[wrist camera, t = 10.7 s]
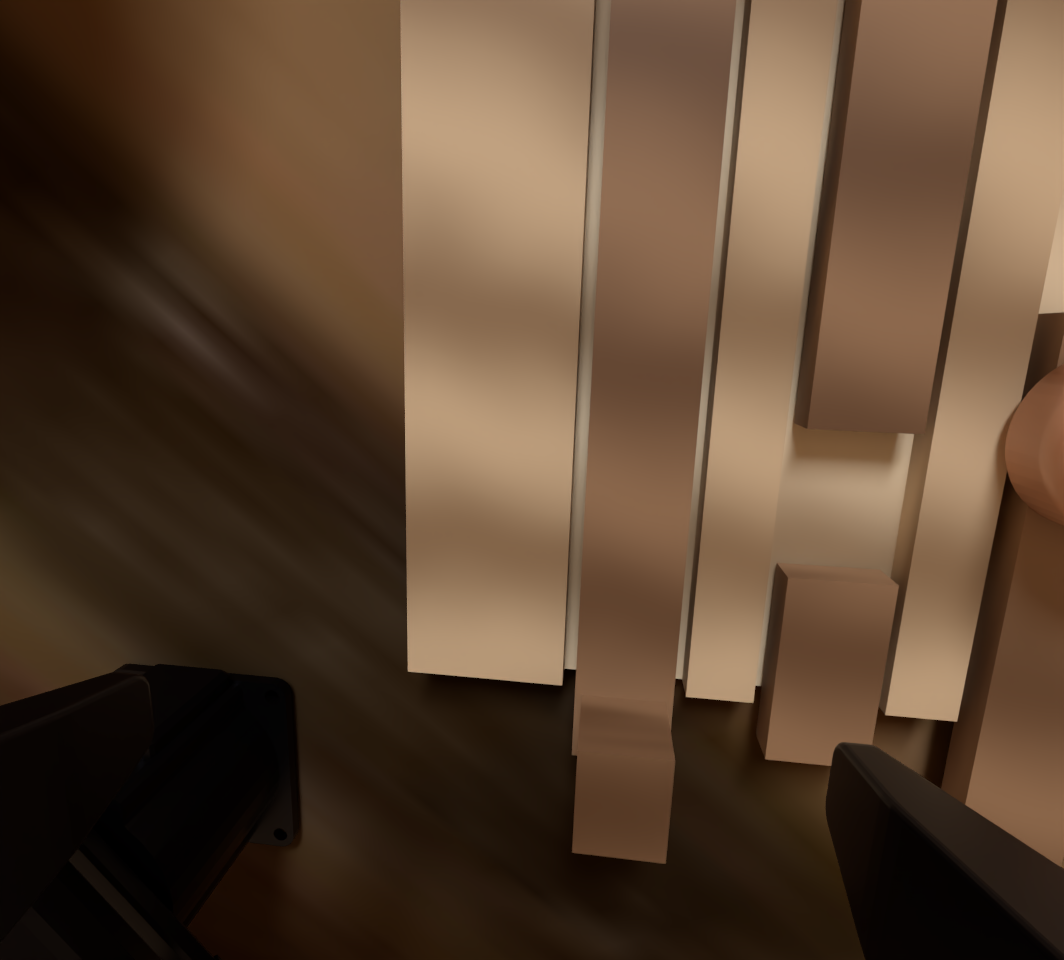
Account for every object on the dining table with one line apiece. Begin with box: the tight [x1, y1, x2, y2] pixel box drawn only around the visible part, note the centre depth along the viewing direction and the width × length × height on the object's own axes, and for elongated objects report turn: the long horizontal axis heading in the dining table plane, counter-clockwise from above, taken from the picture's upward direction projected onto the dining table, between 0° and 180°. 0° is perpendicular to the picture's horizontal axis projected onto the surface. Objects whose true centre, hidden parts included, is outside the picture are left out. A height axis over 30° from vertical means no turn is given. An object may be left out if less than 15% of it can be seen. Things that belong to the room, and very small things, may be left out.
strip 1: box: [572, 0, 736, 864], centre depth 16 cm, size 22×3×4 cm, turn 178°
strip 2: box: [941, 312, 1064, 867], centre depth 17 cm, size 22×3×4 cm, turn 178°
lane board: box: [400, 0, 1064, 766], centre depth 17 cm, size 22×24×2 cm
